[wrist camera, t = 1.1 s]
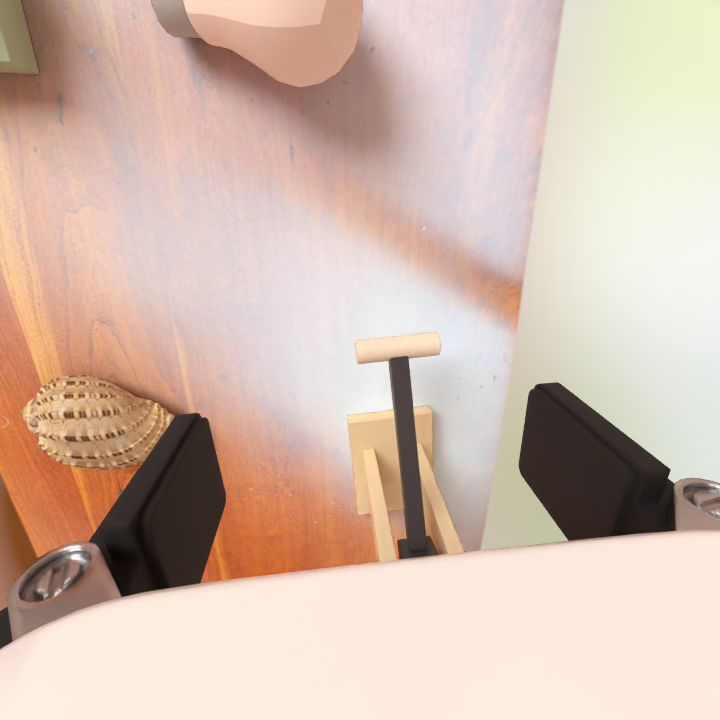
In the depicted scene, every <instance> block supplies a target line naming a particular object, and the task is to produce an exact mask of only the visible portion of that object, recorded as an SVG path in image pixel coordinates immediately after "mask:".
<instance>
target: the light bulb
mask: <svg viewBox="0 0 720 720" xmlns="http://www.w3.org/2000/svg"><path fill="white" fill-rule="evenodd" d="M151 3H152V6H153V9H154V11H155V14H156V16H157V18H158V20H159V22H160V24H161V25H162V26H163V28H164V29H165V30H166V32H167V33H169V34H170V35H172V36H173V37H188V38H202V39H203V40H204V41H206V42H207V43H208V44H210V45H214V46H219V47H223V48H228V49H231V50H232V51H234V52H236V53H237V54H239V55H241V56H242V57H244V58H245V59H247V60H249V61H250V62H252V63H253V64H255V65H256V66H258V67H259V68H260V69H262V70H263V71H265V72H266V73H267V74H269V75H270V76H272V77H273V78H275V79H276V80H277V81H280V82H283V83H286V84H290V85H293V86H296V87H305V86H310V85H315V84H320V83H323V82H324V81H326V80H327V79H328V78H330V77H332V76H333V75H335V74H336V73H338V72H339V71H340V70H341V68H342V67H343V66H344V64H345V63H346V61H347V60H348V59H349V57H350V56H351V55H352V53H353V52H354V50H355V47H356V43H357V40H358V36H359V33H360V29H361V26H362V12H363V1H362V0H151Z"/></svg>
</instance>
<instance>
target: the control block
mask: <svg viewBox="0 0 720 720" xmlns="http://www.w3.org/2000/svg"><path fill="white" fill-rule="evenodd" d="M0 73H18V74H38V75H39V74H40V73H39V70H38V66H37V62H36V58H35V54H34V50H33V46H32V42H31V38H30V34H29V30H28V26H27V22H26V18H25V15H24V11H23V7H22V3H21V0H0Z"/></svg>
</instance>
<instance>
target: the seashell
mask: <svg viewBox="0 0 720 720" xmlns="http://www.w3.org/2000/svg"><path fill="white" fill-rule="evenodd" d="M36 394H37V397H35V398H33V399H32V400H30V401H29V403H27V406H26V407H25V408H24V409H23V410H21V411H20V412H19V413H20V414H21V415H22V416H23V417H24V420H25V421H26V422H27V423H28V424H27V426H28V427H29V428H28V429H29V430H31V431H32V432H33V433H34V434H36V435H38V436H39V442H38V445H40V446H42V450H43V451H45V452H46V453H47V454H48V455H49V456H51V457H52V458H53V459H55V460H56V461H58V462H60V463H63V464H66V465H69V466H75V467H82V468H88V469H99V470H109V469H121V468H127V467H131V466H137V465H142V464H143V463H144V461H145V460H146V458H147V457H148V455H149V454H150V452H151V451H152V449H153V448H154V446H155V445H156V443H157V442H158V441H159V439H160V438H161V436H162V435H163V433H164V432H165V430H166V429H167V427H168V426H169V424H170V423H171V422H172V420H173V419H174V417H175V416H174V415H172V414H170V413H168V412H167V410H166V409H165V408H162V407H161V406H160V404H159V403H154V402H153V401H151V400H146V399H141V398H138V397H136V396H133V395H132V394H131V393H129V392H128V391H126V390H124V389H121V388H120V387H118V386H117V385H114V384H112V383H110V382H108V381H105V380H102V379H99V378H95V377H91V376H85V375H79V376H64V377H60V378H56V379H54V380H52V381H50V382H48V383H46V385H45V386H43V387H41V391H40V392H38V393H36Z"/></svg>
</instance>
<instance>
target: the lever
mask: <svg viewBox="0 0 720 720" xmlns="http://www.w3.org/2000/svg"><path fill="white" fill-rule="evenodd" d="M355 350H356V359H357V364H364V363H373V362H382V361H389V370H390V380H391V390H392V399H393V409H394V419H395V428H396V438H397V447H398V457H399V467H400V476H401V486H402V496H403V505H404V515H405V524H406V534H407V539H400V540H398V550H399V560H400V559H409V558H418V557H426V556H435V555H439V554H438V552H437V550H436V548H435V545H434V543H433V541H432V539H431V537H430V536H426V529H425V519H424V509H423V499H422V489H421V479H420V469H419V459H418V449H417V439H416V429H415V420H414V410H413V400H412V390H411V380H410V370H409V360H408V359H409V358H418V357H427V356H435V355H439V354H440V350H441V345H440V338H439V335H438V333H437V332H429V333H420V334H410V335H401V336H392V337H383V338H374V339H365V340H356V341H355Z"/></svg>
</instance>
